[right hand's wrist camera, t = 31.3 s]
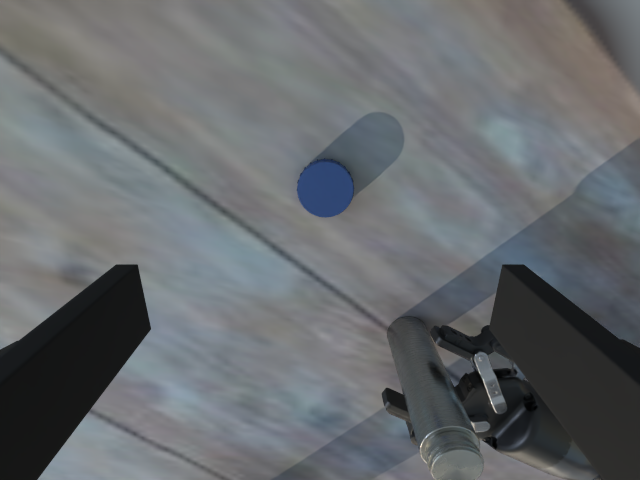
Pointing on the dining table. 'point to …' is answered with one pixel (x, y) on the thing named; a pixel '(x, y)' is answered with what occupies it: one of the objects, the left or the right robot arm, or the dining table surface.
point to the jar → (433, 404)
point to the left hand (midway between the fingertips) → (408, 366)
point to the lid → (325, 188)
